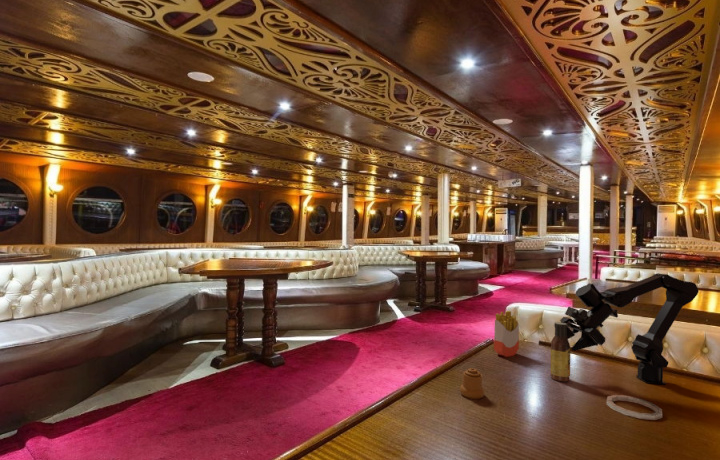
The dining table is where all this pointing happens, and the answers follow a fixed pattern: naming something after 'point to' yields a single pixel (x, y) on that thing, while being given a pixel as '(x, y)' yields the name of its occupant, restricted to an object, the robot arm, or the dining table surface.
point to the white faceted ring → (631, 413)
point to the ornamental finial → (472, 384)
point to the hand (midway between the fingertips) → (564, 346)
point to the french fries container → (506, 334)
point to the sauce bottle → (560, 353)
